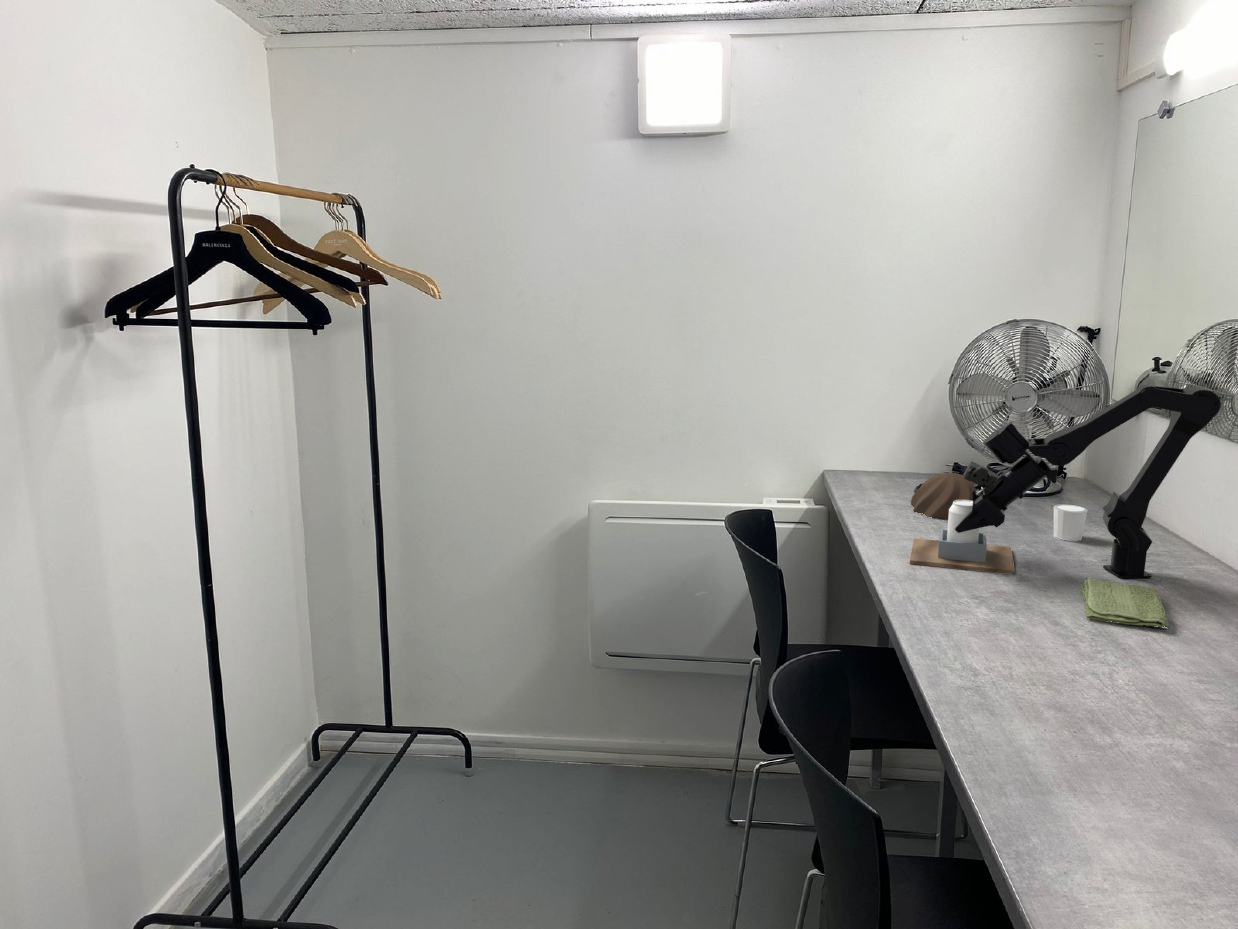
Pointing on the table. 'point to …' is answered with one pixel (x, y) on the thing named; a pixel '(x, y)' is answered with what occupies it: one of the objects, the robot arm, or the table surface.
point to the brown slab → (995, 560)
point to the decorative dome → (941, 494)
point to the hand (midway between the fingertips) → (956, 526)
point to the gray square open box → (962, 548)
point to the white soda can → (956, 516)
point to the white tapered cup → (1069, 522)
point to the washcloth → (1123, 603)
